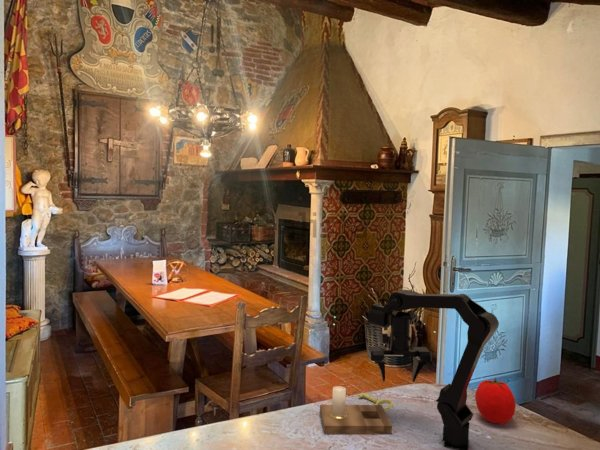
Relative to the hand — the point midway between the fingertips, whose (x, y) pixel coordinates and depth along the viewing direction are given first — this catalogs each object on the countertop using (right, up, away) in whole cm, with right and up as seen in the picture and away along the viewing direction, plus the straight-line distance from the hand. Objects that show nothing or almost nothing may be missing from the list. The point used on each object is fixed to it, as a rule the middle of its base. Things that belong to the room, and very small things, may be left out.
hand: (398, 381), depth 146 cm
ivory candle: (-19, -10, -1) cm, 21 cm away
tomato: (+31, -14, +3) cm, 34 cm away
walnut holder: (-14, -13, 0) cm, 19 cm away
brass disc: (-19, -10, -1) cm, 21 cm away
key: (-5, -13, +14) cm, 20 cm away
